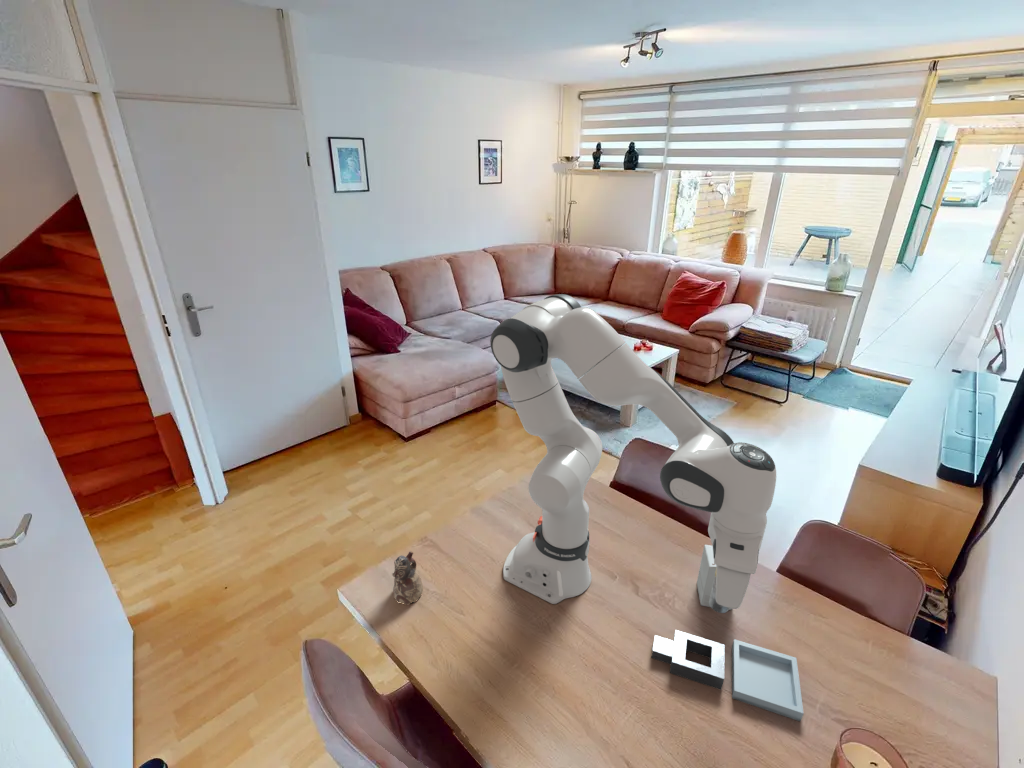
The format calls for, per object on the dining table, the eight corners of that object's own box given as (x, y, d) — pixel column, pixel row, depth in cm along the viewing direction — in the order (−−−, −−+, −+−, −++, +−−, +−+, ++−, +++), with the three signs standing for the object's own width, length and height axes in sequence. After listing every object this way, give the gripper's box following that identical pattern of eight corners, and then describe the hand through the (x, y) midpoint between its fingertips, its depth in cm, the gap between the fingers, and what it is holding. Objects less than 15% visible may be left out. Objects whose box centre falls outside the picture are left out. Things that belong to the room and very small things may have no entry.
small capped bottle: (708, 609, 95) (716, 575, 91) (709, 595, 98) (716, 561, 94) (728, 615, 93) (737, 580, 90) (728, 600, 96) (737, 566, 93)
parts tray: (732, 698, 98) (734, 690, 97) (731, 646, 108) (734, 639, 107) (800, 721, 94) (803, 713, 92) (793, 665, 104) (796, 657, 102)
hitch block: (650, 666, 104) (651, 655, 102) (654, 634, 111) (656, 623, 109) (721, 690, 99) (724, 678, 98) (721, 655, 106) (724, 644, 104)
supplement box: (733, 611, 116) (743, 571, 110) (700, 606, 117) (708, 566, 112) (727, 586, 122) (736, 547, 117) (696, 581, 124) (703, 543, 118)
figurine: (388, 592, 122) (382, 555, 117) (413, 577, 126) (408, 541, 121) (403, 610, 117) (397, 573, 112) (428, 594, 122) (424, 557, 116)
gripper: (718, 490, 97) (707, 544, 103) (714, 564, 80) (702, 623, 86) (753, 497, 95) (740, 552, 101) (757, 575, 78) (742, 635, 84)
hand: (723, 585), depth 93 cm, fingers closed on small capped bottle, 4 cm apart
